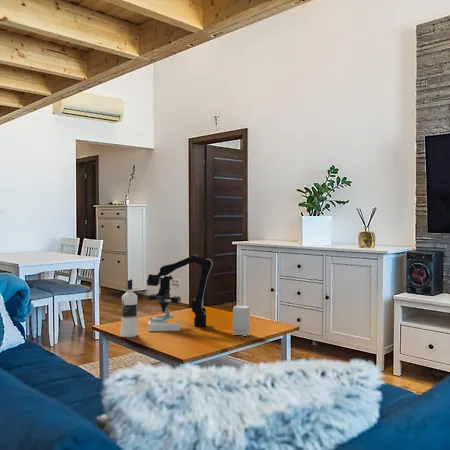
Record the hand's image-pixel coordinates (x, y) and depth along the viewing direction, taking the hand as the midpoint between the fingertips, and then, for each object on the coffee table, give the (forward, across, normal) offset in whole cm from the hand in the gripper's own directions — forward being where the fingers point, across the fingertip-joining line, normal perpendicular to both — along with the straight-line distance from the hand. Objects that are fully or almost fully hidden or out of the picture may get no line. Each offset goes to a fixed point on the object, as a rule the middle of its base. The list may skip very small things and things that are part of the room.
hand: (163, 312), depth 276 cm
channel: (+6, +5, -12) cm, 14 cm away
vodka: (+7, -6, -31) cm, 33 cm away
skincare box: (+6, +50, -9) cm, 51 cm away
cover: (+2, +1, -6) cm, 7 cm away
